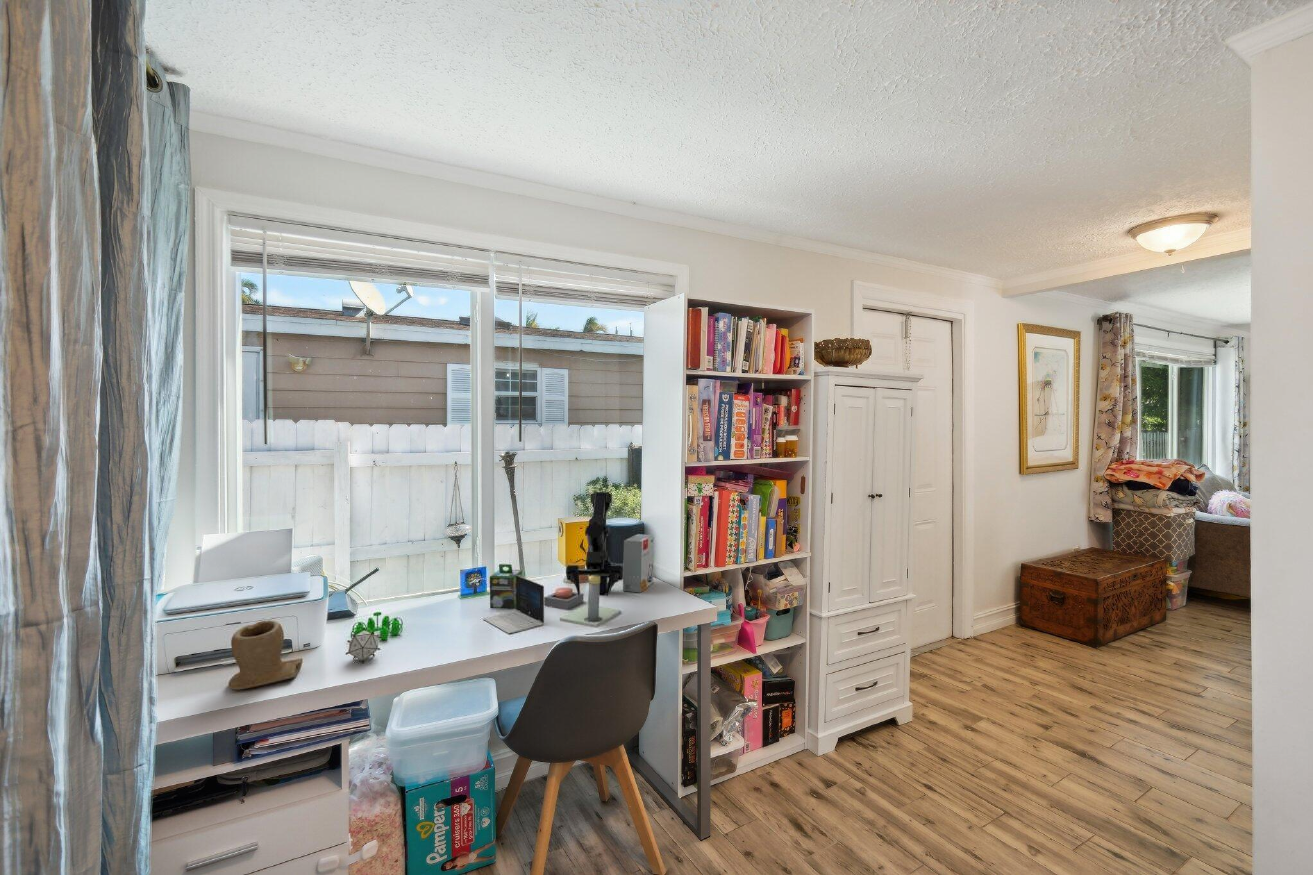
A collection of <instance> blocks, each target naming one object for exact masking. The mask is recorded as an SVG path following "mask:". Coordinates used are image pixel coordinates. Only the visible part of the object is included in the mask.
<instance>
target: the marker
mask: <svg viewBox="0 0 1313 875" xmlns="http://www.w3.org/2000/svg"><path fill="white" fill-rule="evenodd" d="M599 594H600V576H599V575H590V576H589V575H588V601H587V602H588V603H587V604H588V620H590V621H597V620H599V607H600V595H599Z"/></svg>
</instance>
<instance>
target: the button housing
mask: <svg viewBox="0 0 1313 875" xmlns="http://www.w3.org/2000/svg"><path fill="white" fill-rule="evenodd" d="M581 603H582V604H583V603H584V593H583V592H580V596H578V593H577V591H576V592H575V591H573V595H572V597H571V598H568V599H561V598H556V591H554V592H553V593H551V594H549V595H546V596H544V605H545V606H544V607H549V606H552V607H551V608H555V609H561V610H568V611H569V610H570V609H572V608H574V607H576V606H578V605H580V604H581Z"/></svg>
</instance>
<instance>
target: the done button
mask: <svg viewBox="0 0 1313 875" xmlns="http://www.w3.org/2000/svg"><path fill="white" fill-rule="evenodd" d="M555 592H556V598H561V599H568V598H571V597H572V595H573V592H574V591H573V588H571V587H559V588H557V589H555Z"/></svg>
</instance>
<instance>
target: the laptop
mask: <svg viewBox="0 0 1313 875" xmlns="http://www.w3.org/2000/svg"><path fill="white" fill-rule="evenodd" d="M544 597H545V585H543V584H541V583H538V582H536V581H532V580H530V579H529V578H528V579H527V578H525V577H523V576H522V577H520V576H518V575H516V607H515V610H512V611H511V610H510V611H506V612H504V613H500V614H495V615H491V616H487V617H484V618H482V620H484V621H486V622H487V623H489V624H491V625H493V626H494V627H496V628H498V629H500V630H502V631H503V632H505V633H507V634H510V633H511V634H514V633H519V632H523V631H527V630H531V629H535V628H539V627H543V626H544V624H545V606H544Z"/></svg>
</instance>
